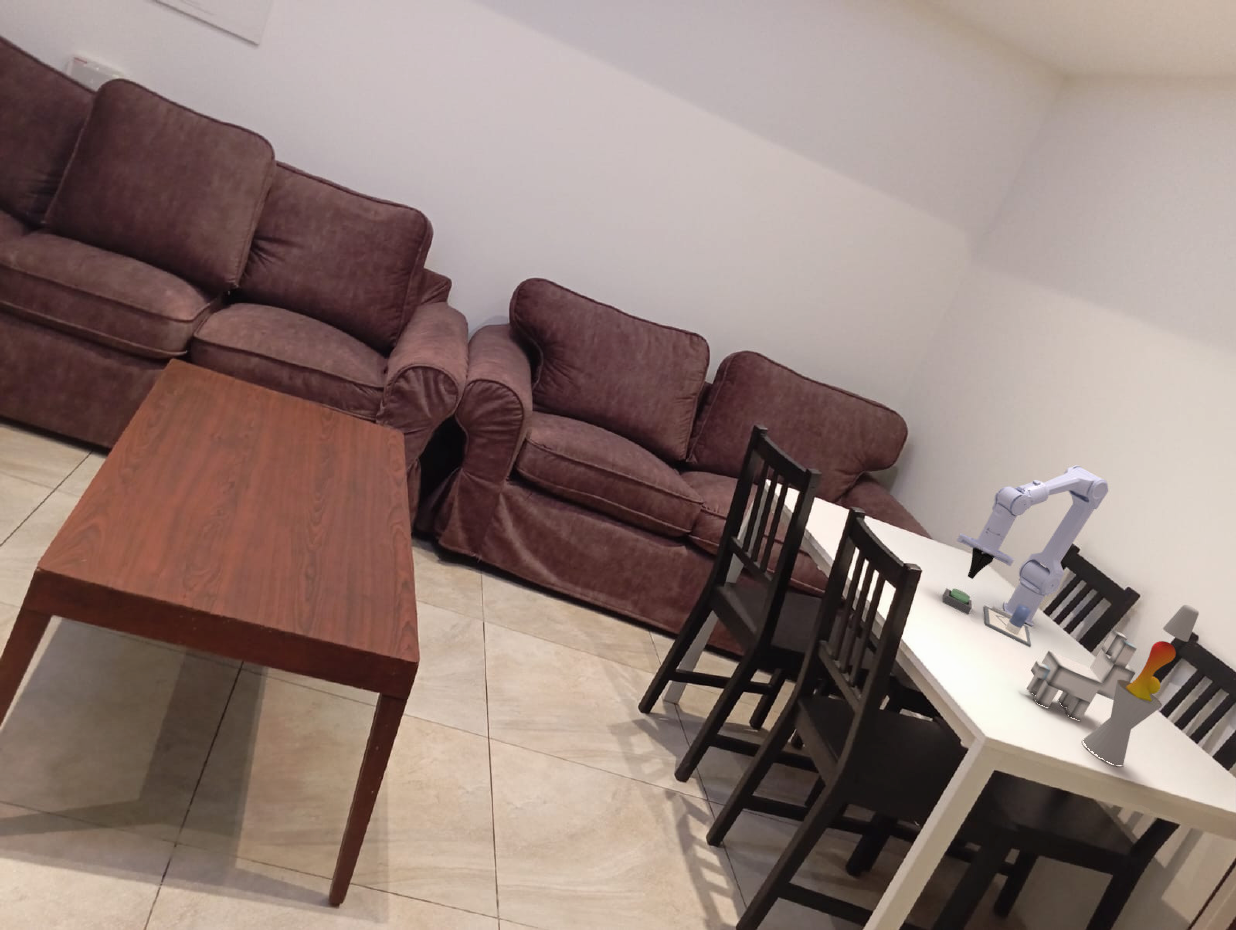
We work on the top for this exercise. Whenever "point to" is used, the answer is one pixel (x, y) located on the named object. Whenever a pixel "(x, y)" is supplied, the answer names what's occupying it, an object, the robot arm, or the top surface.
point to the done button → (960, 596)
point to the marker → (1018, 619)
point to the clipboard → (1004, 624)
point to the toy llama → (1082, 676)
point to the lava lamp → (1138, 694)
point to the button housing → (956, 602)
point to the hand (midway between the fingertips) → (970, 577)
